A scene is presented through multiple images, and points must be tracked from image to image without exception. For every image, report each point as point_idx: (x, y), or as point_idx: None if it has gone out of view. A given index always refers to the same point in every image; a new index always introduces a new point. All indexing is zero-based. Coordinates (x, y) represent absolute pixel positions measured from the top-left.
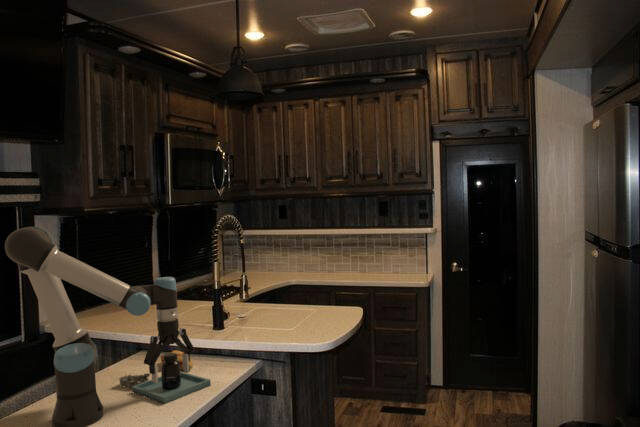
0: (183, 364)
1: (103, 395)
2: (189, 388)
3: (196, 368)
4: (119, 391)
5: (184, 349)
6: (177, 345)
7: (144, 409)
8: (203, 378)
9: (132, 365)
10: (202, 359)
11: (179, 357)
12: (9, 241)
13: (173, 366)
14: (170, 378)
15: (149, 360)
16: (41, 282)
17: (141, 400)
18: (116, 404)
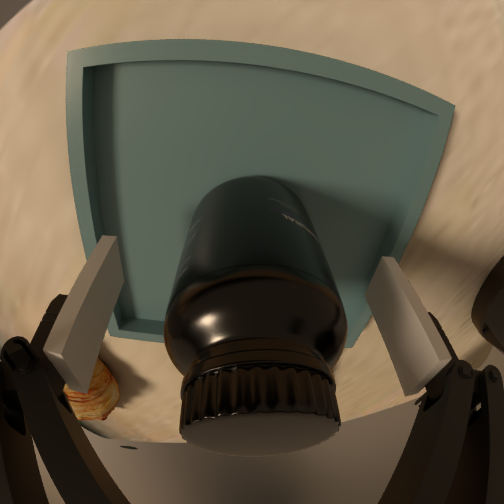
0: (109, 309)
1: (378, 363)
2: (268, 46)
3: (32, 307)
4: (343, 360)
5: (63, 424)
6: (125, 497)
7: (484, 155)
8: (73, 114)
9: (170, 430)
10: (4, 337)
11: (67, 386)
12: None
13: (307, 285)
14: (310, 230)
15: (497, 393)
16: None
17: (414, 239)
18: (445, 286)
